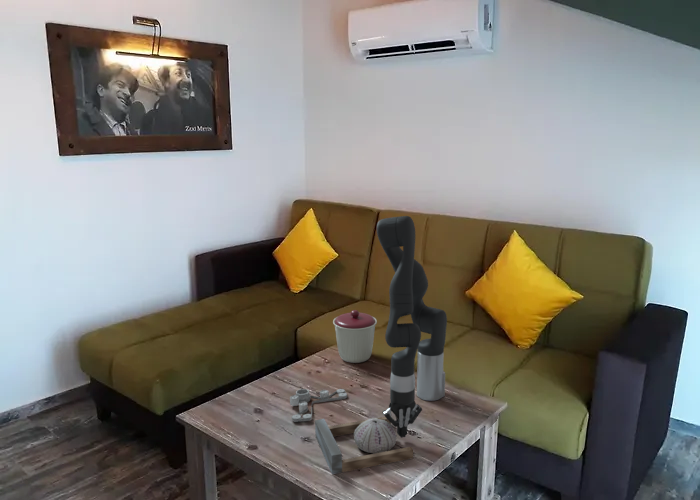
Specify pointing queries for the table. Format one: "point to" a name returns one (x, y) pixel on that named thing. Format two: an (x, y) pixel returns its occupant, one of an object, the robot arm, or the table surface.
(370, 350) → the canister
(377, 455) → the track
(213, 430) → the table surface
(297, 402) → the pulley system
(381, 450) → the sea urchin shell
